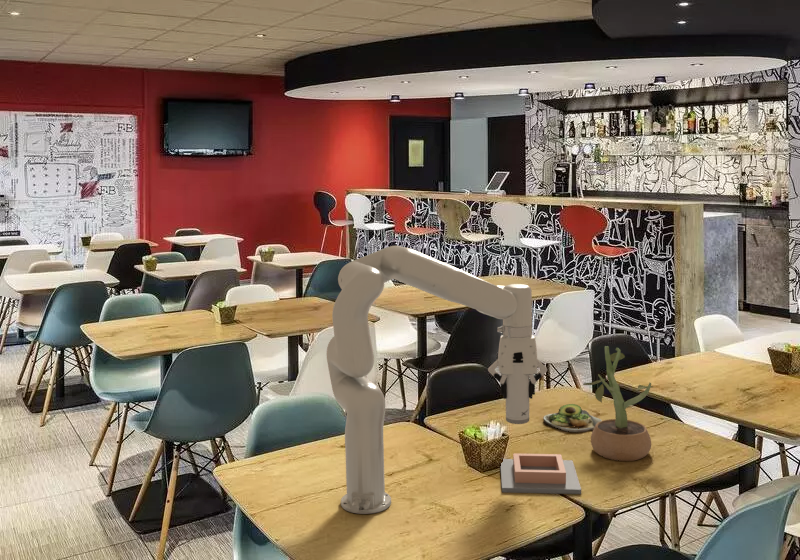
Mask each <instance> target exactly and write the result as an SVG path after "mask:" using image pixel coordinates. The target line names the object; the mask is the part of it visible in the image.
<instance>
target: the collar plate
mask: <svg viewBox="0 0 800 560" xmlns="http://www.w3.org/2000/svg"><path fill="white" fill-rule="evenodd" d="M512 456H513V457H512V458H502V459H503V462H502V463H501V466H500V480H501V481H500V483H501V493H513V494H514V493H519V494H521V493H522V494H523V493H524V494H555V495H556V494H561V495H565V494H566V495H582V487H581V484H580V481H579V477H578V474H577V471H576V467H575V464H574V461H573V459H570V460H567V459H563V457H562V454H558V453H557V454H556V453H551V454H550V453H513V455H512Z"/></svg>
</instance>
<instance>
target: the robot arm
mask: <svg viewBox="0 0 800 560" xmlns="http://www.w3.org/2000/svg"><path fill="white" fill-rule="evenodd" d="M392 280H395V281H398V282H401V283H403V284H405V285H408V286H409V287H412V288H415V289H418V290H421V291H423V292H424V293H427V294H430V295H433V296H434V297H437V298H439V299H441V300H442V299H443V300H446V301H448V302H451V303H455V304H458V305H463V306H465V307H468V308H471V309H474V310H476V311H477V312H479V313H481V314H483V315H487V316H489V317H493V318H495V319H498V320H502V325H501V326H497V333H501V335H500V338H499V344H498V355H497V356H498V357H497V359H496V360H495V361H493V363H492V364H491V365H490V366H489V367H488V368H487V371H488V372H489V374H491V376H493V378H494V379H496V381H498V382H499V384H500V395H501V396H502V397H503V399H504V400H506V378H507V375H513V366H514V364H513V360H515V359H513V356H514V353H518V352H522V354H523V355H522V356H523V359H521V360H523V364H522V365H523V374H524V375H528V376H529V400H530V399H531V400H533V395H535V394H536V384H537V382H538V381H540V379H541V378H542V377H543V376H544V375H545V374H546V373H547V372H548V368H547V366H545V365H544V364H543V363H542V362H541V361H540V360H539V359H538V351H537V342H536V337H535V336H534V335H533V332H532V330H533V328H532V327H533V325H532V324H533V318H532V317H533V316H532V315H533V313H532V312H533V310H532V309H533V307H532V306H533V303H532V302H533V301H532V299H533V298H532V297H533V296H532V295H533V294H532V288H531V287H530V285H528V284H523V283H511V284H507V285H495V284H493V283H491V282H489V281H486V280H485V279H481V278H479V277H477V276H474V275H472V274H471V273H468V272H466V271H464V270H462V269H459V268H457V267H455V266H453V265H451V264H448V263H446V262H443V261H441V260H439V259H436V258H434V257H431V256H429V255H427V254H424V253H422V252H419V251H417V250H415V249H413V248H410V247H405V246H400V245H391V246H387V247H385V248H382V249H379V250H376V251H374V252H372V253H369V254H367V255H365V256H362V257H359V258H357V259H355V260H352V261H350V262H348V263H346V264H344V266H343V267H342V268H341V270H339V274H338V276H337V281H338V285H339V287H340V289H341V291H340V292H339V293H338V295H337V297H336V299H335V302H334V304H333V308H332V312H331V313H332V316H331V317H332V319H331V320H332V329H333V334H334V335H333V337H331V339H330V340H329V342H328V344H327V346H326V347H327V348H326V361H327V367H328V372H329V373H328V374H329V379H330V383H331V388H332V393H333V397H334V399H335V401H336V403H338V406H340V407H341V408H342V409H344V411H346V413H345V414H346V420H345V428H344V447H345V449H344V450H345V453H344V454H345V478H346V479H345V481H346V485H345V486H346V493H345V494H344V495H343V496H342V497H341V499H340V507H341V508H342V509H344V511H346V512H349V513H353V514H357V515H358V514H359V515H367V514H368V515H369V514H377V513H380V512H383V511H385V510H387V509H388V508H389V507H390V506H391V505H392V497H391V496H390V495H389V493H387V492H385V491H386V490H385V452H384V451H385V450H384V449H385V447H384V445H385V444H384V421H385V415H386V399H385V395H384V393H383V392H382V390H381V388H380V387H379V386H378V385H377V384H376V383H374V382H373V381H371V380H370V379H369V378H368V377H367V375H369V374H370V373H371V372H372V370H373V368H374V366H375V365H374V364H375V355H374V350H373V346H372V345H373V344H372V338H371V333H370V328H369V311H370V309H371V307H372V305H373V304H374V302H375V301H376V300H377V299H378V298H379V297H380V296H381V295H382V293H383V292H384V288H385V283H387V282H389V281H392ZM497 368H498V372H497V371H496V369H497ZM538 369H539V371H538Z"/></svg>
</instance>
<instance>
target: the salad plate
mask: <svg viewBox="0 0 800 560" xmlns="http://www.w3.org/2000/svg"><path fill="white" fill-rule="evenodd" d="M542 420H543V422H544V423H545V424H546V425H548V426H550V427H552V428H554V427H555V429H557V428H558V430H560V429H561V430H560V431H565V432H568V431H569V432H568V433H584V432H588V431H593V430H594V428H595V425H596V424H597V423H598V422H600V421H603V420H602V419H601V418H598V417H595V416H593V415H591V414H590V413H589V412H588V411H587V410H583V408H582V407H581V406H580V405H578V404H575V403H568V404H565V405H562V406H560V407H559V409H558V412H555V413H549V414H545V415H544V416H543V418H542ZM572 426H575V427H578V428H579V429H578V428H575V427H574V428H572ZM570 427H571V428H570Z"/></svg>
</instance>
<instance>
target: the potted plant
mask: <svg viewBox="0 0 800 560" xmlns="http://www.w3.org/2000/svg"><path fill="white" fill-rule="evenodd" d="M615 351H616V352H613V353H610V346H608V345H607V346H606V345H605V346H604V359H605V364H606V366H605V367H606V378H607V380H608V383H607V382H606V381H605V380H606V378H603V377H602V376H601V375H600V374H599V373H598V374H597V376H598V377H599V379H598V380H595V381H592V382H591V381H590V382H585V383H584V382H583V383H582V384H583V386H593V385H596V384H599V383H601V385H599V387H598V388H597V389H596V390H595V393H594V396H595V400H597V401H598V402H600V403H603V397H604V393H605V387H606V389H607V390H608V391H609V393H610V394H611V396H612V400H613V406H614V412H615V414H614V415H615V418H614V419H613V418H611V419H604V420H602V421H600V422H598V423H597V424H596V425H595V428H594V430H592V431H591V435H590V445H591V447H592V449H593V451H594V452H595V453H596V454H598V455H599V456H601V457H602V456H603V457H602V458H605V459H609V460H612V461H618V460H619V461H620V462H631V461H638V460H641V459H643V458H645V457H646V456H647V455H649V453H650V451H651V448H652V439H651V436H650V433H649V431H648V428H647V427H646V425H644V424H643V423H640V422H637V421H633V420H629V419H628V414H627V410H626V409H627V408H628V407H630V406H633V405H636V404H637V403H639V402H641V401H642V400H644V398H646V396H647V395H648V394H649V393H650V390H651V388H654V386H653V385H652V382H649V383H648V384H647V385H642V384H638V386H637V389H636V390H637V391H639V390H643V391H642V392H641V393H640V394H638V395H636V396H635V397H632V398H630V399H627V400H626V401H625V400H624V398H623V395H622V393H621V390H620V385H619V383H618V382H617V379H616V377H615V373H616V369H617V367H618V363H619V361H622V359H625V357H626V356H625V354H624V353H623V352H621V351H622V350H621V349H620V348H619V347H616V348H615ZM604 386H605V387H604ZM644 389H645V390H644ZM613 459H614V460H613Z"/></svg>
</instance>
